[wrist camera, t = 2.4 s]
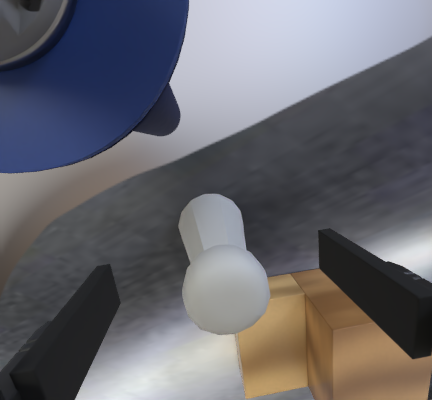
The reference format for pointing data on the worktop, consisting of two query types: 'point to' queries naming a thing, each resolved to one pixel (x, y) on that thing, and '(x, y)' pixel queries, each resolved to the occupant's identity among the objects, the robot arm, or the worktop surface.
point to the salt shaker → (220, 268)
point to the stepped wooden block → (324, 347)
